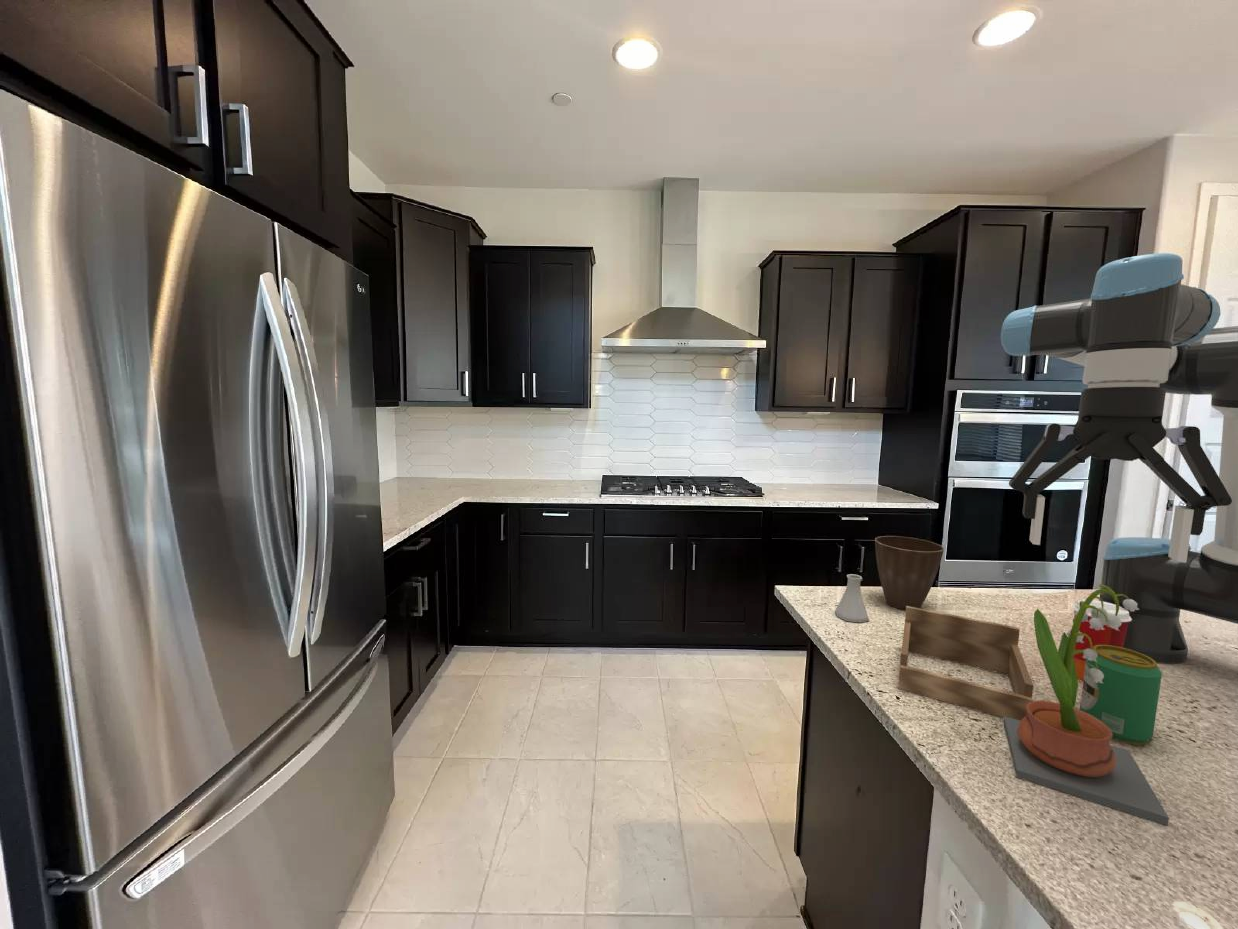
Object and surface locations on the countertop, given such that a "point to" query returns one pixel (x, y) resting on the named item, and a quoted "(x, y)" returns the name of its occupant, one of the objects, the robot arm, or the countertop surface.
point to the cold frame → (965, 661)
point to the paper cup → (1099, 633)
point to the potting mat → (1090, 779)
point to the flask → (852, 602)
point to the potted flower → (1070, 698)
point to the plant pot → (907, 569)
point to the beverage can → (1123, 693)
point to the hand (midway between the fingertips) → (1101, 550)
